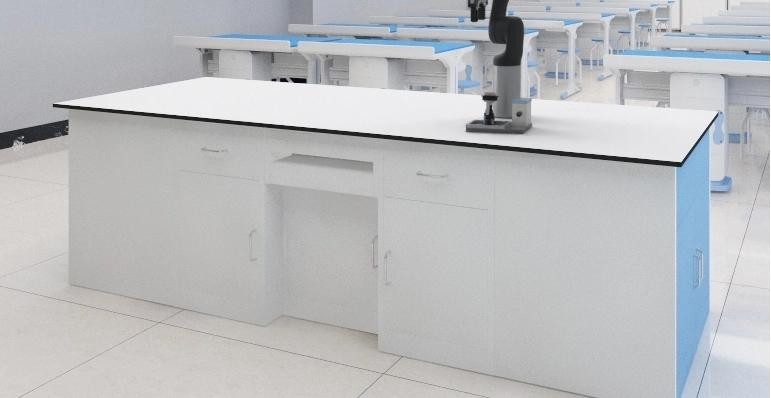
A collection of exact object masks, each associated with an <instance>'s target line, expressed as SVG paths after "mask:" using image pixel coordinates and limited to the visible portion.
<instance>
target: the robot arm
mask: <svg viewBox="0 0 771 398" xmlns="http://www.w3.org/2000/svg"><path fill="white" fill-rule="evenodd" d="M488 1H489V0H467V8H469V10H470V22H471V23H478V21H485V20H486V7H487V5H488V4H489V2H488ZM509 1H510V0H492V2H491V8H490V13H489V21H488V30H487V32H488V33H487V34H488V39H489V41H490V42H492V44H496V45H505V49H504V51H503V52H501V53H500V54H497V55H495V56H494V57H493V61H492V67H493V68H492V69H493V70H492V72H493V73H492V75H493V77H492V92H493V93H496V96H499V97H497V101H495V102H493V107H492V110H493V113H494V116H495V118H503V119H508V118H511V119H512V100H513V99H515V98H522V95H521V93H522V92H521V91H522V90H521V88H522V87H521V85H522V83H521V82H522V80H521V79H522V74H521V73H522V58H523V54H524V43H525V42H524V39H525V25H524V21H523V20H522V18H521V17H519V16H514V15H513V16H512V15H511V16H509V15H507V9H508V4H509Z"/></svg>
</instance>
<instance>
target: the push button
mask: <svg viewBox="0 0 771 398" xmlns="http://www.w3.org/2000/svg"><path fill="white" fill-rule="evenodd" d="M497 97H499V96H496V93H493V91H492V92H490V91H488V92H487V91H484V94H482V95H481V98H482V99H481V100H482V101H483V102H484V103H485V104H486V106H485V110H484V113H483V119H482V120H483V124H484V125H494V122H495V120H496V117H495V116H494V113H493V102H495V101H497Z"/></svg>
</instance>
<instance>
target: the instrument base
mask: <svg viewBox="0 0 771 398" xmlns="http://www.w3.org/2000/svg"><path fill="white" fill-rule="evenodd" d="M532 100H533V99H532V97H521V98H515V99H513V100H512V118H511V120H496V119H495V122H494V125H484V124H483V120H484V119H473V120H471V121H469V122H468V123H466V124H465V132H468V133H469V132H471V133H472V132H474V133H492V134H494V133H496V134H512V133H514V135H516V134H517V135H523V134H525V133H527V132H528V131H529V130H530V129H531V128H533V122H532Z"/></svg>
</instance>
